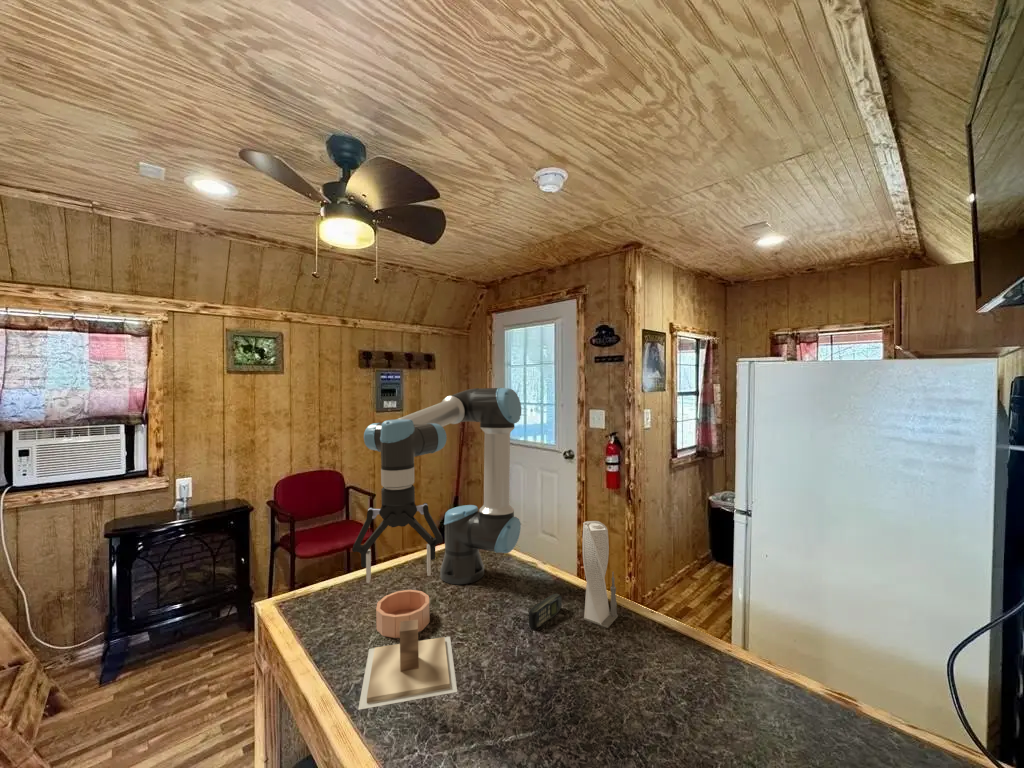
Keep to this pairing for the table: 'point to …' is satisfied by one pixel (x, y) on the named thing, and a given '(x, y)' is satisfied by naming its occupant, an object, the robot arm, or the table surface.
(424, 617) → the bowl
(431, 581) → the table surface
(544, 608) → the mobile phone
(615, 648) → the table surface
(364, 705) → the mat
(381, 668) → the board
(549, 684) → the table surface
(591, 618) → the skyscraper
